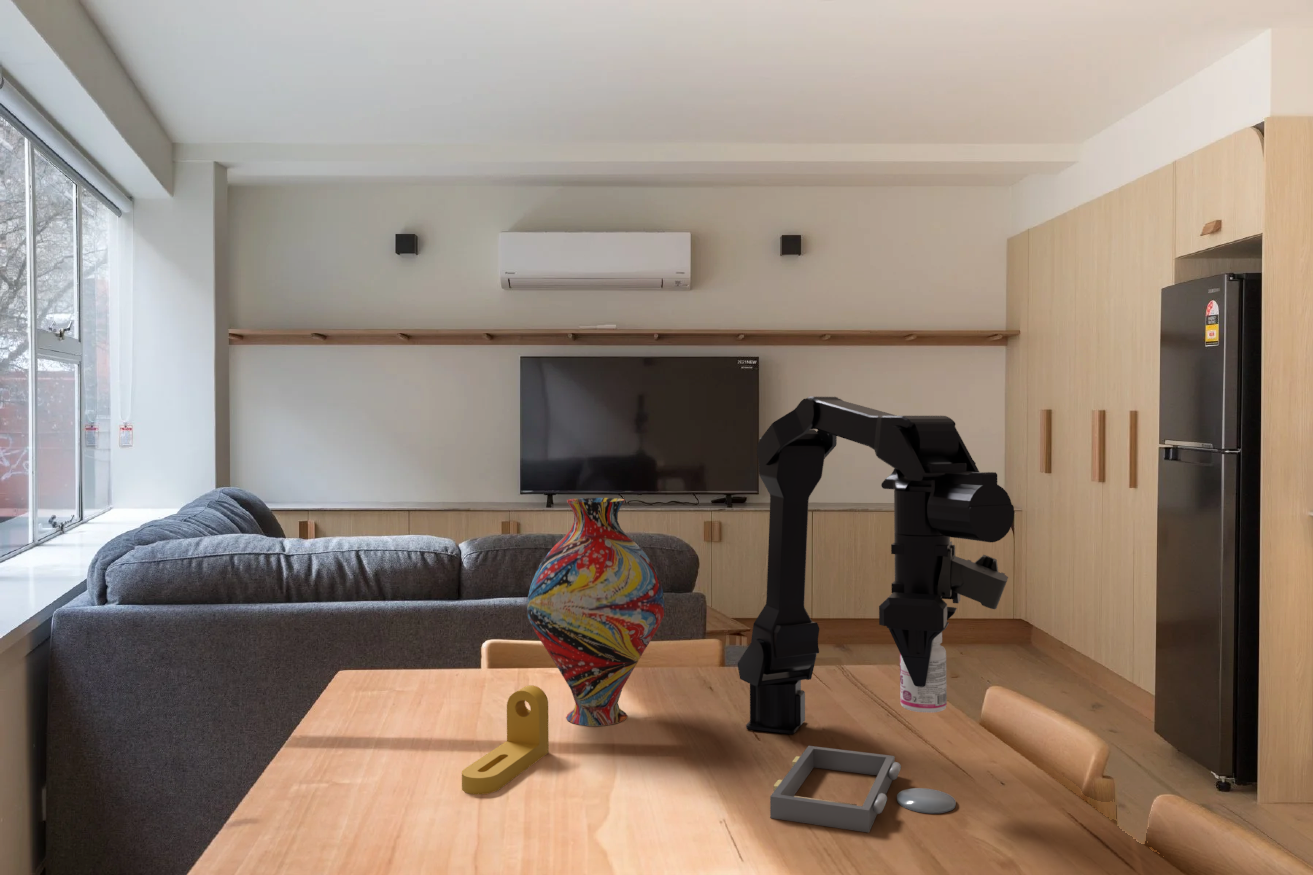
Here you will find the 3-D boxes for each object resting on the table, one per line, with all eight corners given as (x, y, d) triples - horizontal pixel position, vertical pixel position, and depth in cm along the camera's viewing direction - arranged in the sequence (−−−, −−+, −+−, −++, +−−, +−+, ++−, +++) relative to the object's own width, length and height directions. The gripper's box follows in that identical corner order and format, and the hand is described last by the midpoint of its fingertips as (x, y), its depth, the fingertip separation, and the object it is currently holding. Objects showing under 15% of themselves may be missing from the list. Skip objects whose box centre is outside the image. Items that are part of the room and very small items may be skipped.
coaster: (893, 808, 102) (893, 804, 102) (901, 788, 108) (901, 785, 108) (952, 816, 100) (952, 812, 100) (957, 796, 106) (957, 792, 106)
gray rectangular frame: (764, 816, 100) (764, 795, 100) (803, 763, 116) (803, 744, 116) (879, 833, 96) (879, 811, 96) (903, 776, 112) (903, 756, 112)
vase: (501, 729, 130) (500, 503, 129) (567, 692, 147) (566, 493, 147) (632, 745, 123) (631, 507, 122) (684, 705, 140) (684, 496, 140)
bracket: (516, 750, 122) (516, 683, 122) (548, 753, 121) (548, 686, 120) (454, 792, 108) (453, 717, 108) (489, 797, 106) (489, 721, 106)
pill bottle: (894, 701, 106) (893, 623, 106) (936, 700, 106) (936, 622, 106) (908, 714, 101) (908, 632, 101) (953, 712, 102) (953, 631, 102)
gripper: (997, 545, 92) (998, 711, 92) (1006, 527, 109) (1007, 667, 109) (877, 541, 96) (878, 700, 96) (905, 524, 114) (906, 659, 114)
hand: (923, 680), depth 104 cm, fingers closed on pill bottle, 5 cm apart
